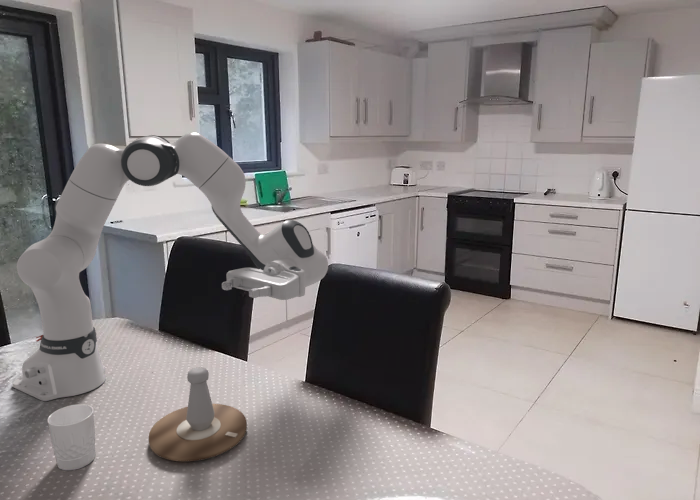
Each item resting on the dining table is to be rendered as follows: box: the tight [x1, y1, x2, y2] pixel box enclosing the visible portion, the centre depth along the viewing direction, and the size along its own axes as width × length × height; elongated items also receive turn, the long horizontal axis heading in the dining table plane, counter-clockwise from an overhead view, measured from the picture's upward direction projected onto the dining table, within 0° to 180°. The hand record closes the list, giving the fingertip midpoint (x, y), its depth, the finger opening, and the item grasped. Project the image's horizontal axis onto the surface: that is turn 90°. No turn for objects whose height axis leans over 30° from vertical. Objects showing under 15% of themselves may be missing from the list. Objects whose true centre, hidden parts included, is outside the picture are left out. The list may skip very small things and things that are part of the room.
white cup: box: [46, 403, 97, 471], centre depth 99 cm, size 8×8×10 cm
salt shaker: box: [186, 366, 214, 431], centre depth 107 cm, size 6×6×13 cm
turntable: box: [148, 403, 248, 462], centre depth 108 cm, size 20×20×1 cm
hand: (237, 290), depth 117 cm, fingers open, 8 cm apart
